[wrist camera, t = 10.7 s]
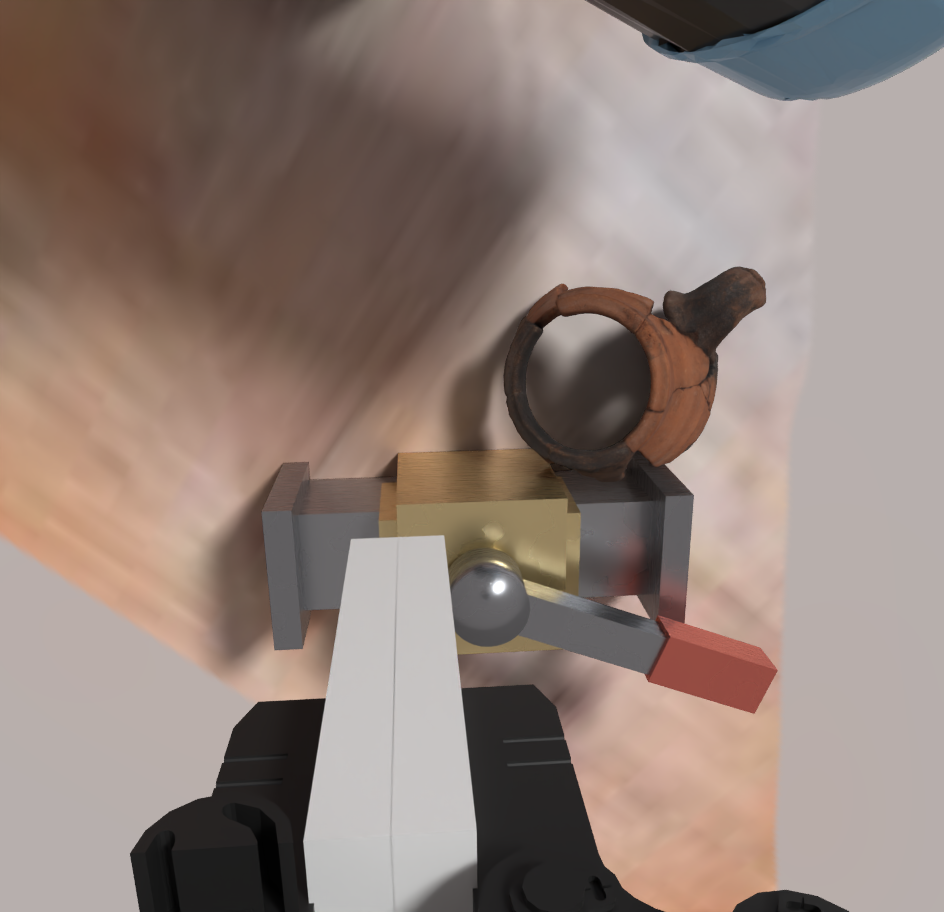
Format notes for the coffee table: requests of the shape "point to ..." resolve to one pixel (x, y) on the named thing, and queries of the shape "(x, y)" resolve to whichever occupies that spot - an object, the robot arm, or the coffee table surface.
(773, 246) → the coffee table surface
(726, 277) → the pottery mug
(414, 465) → the valve body
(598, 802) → the coffee table surface
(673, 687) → the lever
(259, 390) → the coffee table surface
